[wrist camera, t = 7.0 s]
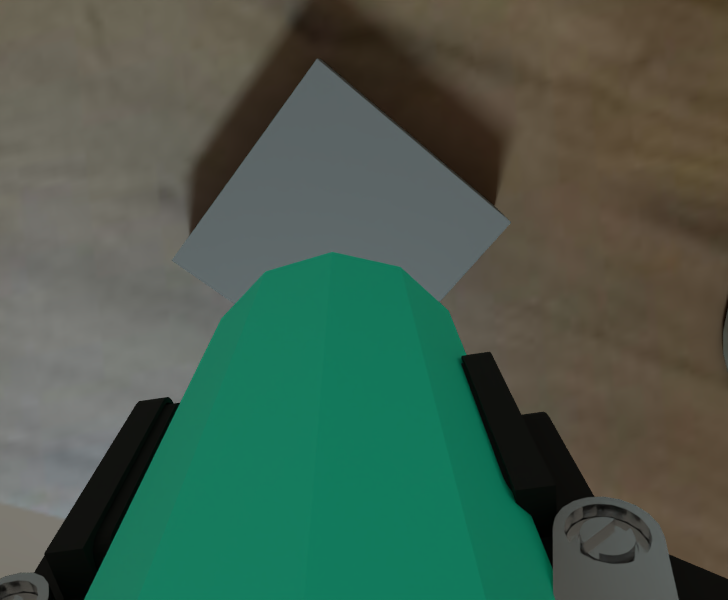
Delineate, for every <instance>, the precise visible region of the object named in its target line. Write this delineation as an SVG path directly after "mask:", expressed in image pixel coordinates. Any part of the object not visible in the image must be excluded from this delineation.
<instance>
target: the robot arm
mask: <svg viewBox="0 0 728 600" xmlns="http://www.w3.org/2000/svg"><path fill="white" fill-rule="evenodd" d="M723 354H724V358H725V362H726V366H727V370H728V310H727V315H726V320H725V325H724V330H723ZM461 359H462V362H463V363H461V365H462V368H463V371H464V374H465V376H466V379H467V382H468V384H469V387H470V390H471V392H472V395H473V398H474V400H475V403H476V406H477V409H478V411H479V414H480V417H481V419H482V422H483V425H484V427H485V430H486V433H487V436H488V438H489V441H490V444H491V446H492V449H493V452H494V454H495V457H496V460H497V462H498V465H499V468H500V471H501V473H502V476H503V478H504V480H505V482H506V484H507V486H508V487H509V488H510V490H511V491H512V494H513V496H514V499H515V502H516V504H517V505H519V506H520V507H521V508H522V509H524V510H525V511H526V512H527V513H528V514H530V515H531V516H532V519H533V521H534V524H535V526H536V529H537V531H538V534H539V536H540V539H541V541H542V544H543V546H544V549H545V551H546V554H547V556H548V559H549V561H550V564H551V566H552V569H553V595H554V597H555V600H728V579H726V578H724V577H722V576H719V575H717V574H714V573H712V572H710V571H707V570H705V569H702V568H700V567H698V566H695V565H693V564H691V563H688V562H686V561H683V560H681V559H679V558H676V557H674V556H671V555H669V554H668V550H667V545H666V541H665V537H664V534H663V532H662V530H661V528H660V526H659V524H658V523H657V522H656V521H655V520H654V519H653V518H652V517H651V516H650V515H649V514H648V513H647V512H645V511H644V510H642V509H640V508H639V507H637V506H636V505H633V504H630V503H628V502H625V501H622V500H620V499H614V498H608V497H594V495H593V494H592V492H591V490H590V488H589V486H588V485H587V483H586V481H585V479H584V478H583V476H582V474H581V472H580V471H579V469H578V467H577V465H576V463H575V462H574V460H573V458H572V456H571V455H570V453H569V451H568V449H567V448H566V446H565V444H564V442H563V440H562V439H561V437H560V435H559V433H558V432H557V430H556V428H555V426H554V425H553V423H552V421H551V419H550V417H549V416H548V415H547V413H545V412H538V413H531V414H524V415H521V413H520V411H519V409H518V407H517V405H516V403H515V401H514V399H513V397H512V395H511V393H510V391H509V389H508V387H507V385H506V383H505V381H504V378H503V376H502V374H501V372H500V370H499V368H498V366H497V364H496V362H495V360H494V358H493V356H492V354H491V352H485V353H478V354H471V355H464V356H462V357H461ZM179 404H180V403H175V404H173V402H172V400H171V399H170V398H169V397H166V398H158V399H151V400H144V401H139V402H138V403H137V404H136V406H135V407H134V409H133V410H132V412H131V414H130V415H129V417H128V419H127V420H126V422H125V423H124V425H123V427H122V428H121V430H120V432H119V433H118V435H117V436H116V438H115V440H114V441H113V443H112V445H111V446H110V448H109V449H108V451H107V453H106V454H105V456H104V457H103V459H102V461H101V462H100V464H99V466H98V467H97V469H96V470H95V472H94V474H93V475H92V477H91V479H90V480H89V482H88V483H87V485H86V487H85V488H84V490H83V492H82V493H81V495H80V496H79V498H78V500H77V501H76V503H75V505H74V506H73V508H72V509H71V511H70V513H69V514H68V516H67V517H66V519H65V521H64V522H63V524H62V526H61V527H60V529H59V530H58V532H57V534H56V535H55V537H54V539H53V540H52V542H51V543H50V545H49V547H48V548H47V550H46V552H45V556H44V557H43V559H42V561H41V562H40V564H39V565H38V567H37V569H36V570H35V572H34V573H17V574H13V575H9V576H5V577H3V578H1V579H0V600H84V599H85V597H86V595H87V593H88V590H89V588H90V586H91V584H92V582H93V580H94V578H95V576H96V574H97V572H98V570H99V568H100V566H101V564H102V562H103V560H104V558H105V556H106V554H107V552H108V550H109V547H110V545H111V543H112V541H113V539H114V537H115V535H116V533H117V531H118V529H119V527H120V525H121V523H122V521H123V519H124V517H125V515H126V513H127V511H128V509H129V507H130V505H131V502H132V500H133V498H134V496H135V494H136V492H137V490H138V488H139V486H140V484H141V482H142V480H143V478H144V476H145V474H146V472H147V470H148V468H149V466H150V464H151V462H152V460H153V457H154V455H155V453H156V451H157V449H158V447H159V445H160V443H161V441H162V439H163V437H164V435H165V433H166V431H167V429H168V427H169V425H170V423H171V421H172V419H173V417H174V415H175V412H176V410H177V408H178V406H179Z"/></svg>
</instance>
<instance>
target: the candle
mask: <svg viewBox="0 0 728 600" xmlns="http://www.w3.org/2000/svg"><path fill="white" fill-rule="evenodd" d="M464 355H466V353H465V350H464V348H463V345H462V343H461V340H460V338H459V335H458V333H457V330H456V328H455V325H454V323H453V321H452V318H451V316H450V313H449V311H448V310H447V309H446V308H445V307H444V306H443V305H442V304H441V303H440V302H438V301H437V300H436V299H435V298H434V297H433V296H432V295H431V294H430V293H429V292H427V291H426V290H425V289H424V288H423V287H422V286H421V285H420V284H419V283H418V282H417V281H415V280H414V279H413V278H412V277H411V276H410V275H409V274H408V273H407V272H406V271H404V270H403V269H402V268H401V267H399V266H394V265H390V264H385V263H381V262H376V261H372V260H367V259H362V258H358V257H353V256H349V255H344V254H340V253H335V252H330V253H326V254H323V255H320V256H316V257H313V258H309V259H306V260H303V261H299V262H296V263H292V264H289V265H286V266H282V267H279V268H275V269H272V270H269V271H265V272H264V273H263V275H262V276H261V277H260V278H259V279H258V280H257V281H256V282H255V283H254V284H253V285H252V286H251V287H250V288H249V290H248V291H247V292H246V293H245V294H244V295H243V296H242V297H241V298H240V299H239V300H238V301H237V302H236V303H235V305H234V306H233V307H232V308H231V309H230V310H229V311H228V312H227V313H226V314H225V315H224V316H223V317H222V318H221V320H220V322H219V324H218V327H217V329H216V331H215V333H214V335H213V337H212V339H211V341H210V343H209V345H208V347H207V349H206V351H205V353H204V355H203V357H202V359H201V361H200V363H199V365H198V367H197V370H196V372H195V374H194V376H193V378H192V380H191V382H190V384H189V386H188V388H187V390H186V392H185V394H184V396H183V398H182V400H181V402H180V404H179V406H178V408H177V410H176V412H175V415H174V417H173V419H172V421H171V423H170V425H169V427H168V429H167V431H166V433H165V435H164V437H163V439H162V441H161V443H160V445H159V447H158V449H157V451H156V453H155V455H154V457H153V460H152V462H151V464H150V466H149V468H148V470H147V472H146V474H145V476H144V478H143V480H142V482H141V484H140V486H139V488H138V490H137V492H136V494H135V496H134V498H133V500H132V502H131V505H130V507H129V509H128V511H127V513H126V515H125V517H124V519H123V521H122V523H121V525H120V527H119V529H118V531H117V533H116V535H115V537H114V539H113V541H112V543H111V545H110V547H109V550H108V552H107V554H106V556H105V558H104V560H103V562H102V564H101V566H100V568H99V570H98V572H97V574H96V576H95V578H94V580H93V582H92V584H91V586H90V588H89V590H88V593H87V595H86V597H85V599H84V600H555V597H554V595H553V569H552V566H551V564H550V561H549V559H548V556H547V554H546V551H545V549H544V546H543V544H542V541H541V539H540V536H539V534H538V531H537V529H536V526H535V524H534V521H533V519H532V516H531V515H530V514H528V513H527V512H526V511H525V510H524V509H522V508H521V507H520V506H519V505H517V504H516V502H515V499H514V496H513V494H512V491H511V490H510V488H509V487H508V486H507V484H506V482H505V480H504V478H503V476H502V473H501V471H500V468H499V465H498V462H497V460H496V457H495V454H494V452H493V449H492V446H491V444H490V441H489V438H488V436H487V433H486V430H485V427H484V425H483V422H482V419H481V417H480V414H479V411H478V409H477V406H476V403H475V400H474V398H473V395H472V392H471V390H470V387H469V384H468V382H467V379H466V376H465V374H464V371H463V368H462V365H461V363H463V362H462V359H461V357H462V356H464Z"/></svg>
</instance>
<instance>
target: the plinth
mask: <svg viewBox="0 0 728 600" xmlns="http://www.w3.org/2000/svg"><path fill="white" fill-rule="evenodd" d="M510 223H511V222H510V221H509V220H508V219H507V218H506V217H505V216H504V215H503V214H502V213H501V212H500V211H499V210H498V209H497V208H496V207H495V206H494V205H493V204H492V203H490V202H489V201H488V200H487V199H486V198H485V197H483V196H482V195H481V194H480V193H479V192H477V191H476V190H475V189H474V188H473V187H472V186H470V185H469V184H468V183H467V182H466V181H464V180H463V179H462V178H461V177H460V176H459V175H457V174H456V173H455V172H454V171H453V170H451V169H450V168H449V167H448V166H447V165H445V164H444V163H443V162H442V161H441V160H440V159H438V158H437V157H436V156H435V155H434V154H432V153H431V152H430V151H429V150H428V149H427V148H425V147H424V146H423V145H422V144H421V143H419V142H418V141H417V140H416V139H415V138H414V137H412V136H411V135H410V134H409V133H408V132H406V131H405V130H404V129H403V128H402V127H401V126H399V125H398V124H397V123H396V122H395V121H393V120H392V119H391V118H390V117H389V116H387V115H386V114H385V113H384V112H383V111H382V110H380V109H379V108H378V107H377V106H376V105H374V104H373V103H372V102H371V101H370V100H369V99H367V98H366V97H365V96H364V95H363V94H361V93H360V92H359V91H358V90H357V89H356V88H354V87H353V86H352V85H351V84H350V83H348V82H347V81H346V80H345V79H344V78H342V77H341V76H340V75H339V74H338V73H337V72H335V71H334V70H333V69H332V68H331V67H329V66H328V65H327V64H326V63H325V62H324V61H322V60H321V59H316V61H315V62H314V64H313V65H312V66H311V68H310V69H309V70H308V72H307V73H306V75H305V76H304V77H303V79H302V80H301V82H300V83H299V84H298V86H297V87H296V89H295V90H294V91H293V93H292V94H291V95H290V97H289V98H288V100H287V101H286V102H285V104H284V105H283V107H282V108H281V109H280V111H279V112H278V114H277V115H276V116H275V118H274V119H273V120H272V122H271V123H270V125H269V126H268V127H267V129H266V130H265V132H264V133H263V134H262V136H261V137H260V139H259V140H258V141H257V143H256V144H255V145H254V147H253V148H252V150H251V151H250V152H249V154H248V155H247V157H246V158H245V159H244V161H243V162H242V164H241V165H240V166H239V168H238V169H237V170H236V172H235V173H234V175H233V176H232V177H231V179H230V180H229V182H228V183H227V184H226V186H225V187H224V189H223V190H222V191H221V193H220V194H219V195H218V197H217V198H216V200H215V201H214V202H213V204H212V205H211V207H210V208H209V209H208V211H207V212H206V214H205V215H204V216H203V218H202V219H201V220H200V222H199V223H198V225H197V226H196V227H195V229H194V230H193V232H192V233H191V234H190V236H189V237H188V239H187V240H186V241H185V243H184V244H183V245H182V247H181V248H180V250H179V251H178V252H177V254H176V255H175V257H174V258H173V259H172V261H173V262H175V263H176V264H178V265H179V266H180V267H182V268H183V269H185V270H186V271H188V272H189V273H191V274H192V275H193V276H195V277H196V278H198V279H199V280H201V281H202V282H204V283H205V284H206V285H208V286H209V287H211V288H212V289H214V290H215V291H217V292H218V293H220V294H221V295H222V296H224V297H225V298H227V299H228V300H230V301H231V302H233V303H234V304H235V303H236V302H237V301H238V300H239V299H240V298H241V297H242V296H243V295H244V294H245V293H246V292H247V291H248V290H249V288H250V287H251V286H252V285H253V284H254V283H255V282H256V281H257V280H258V279H259V278H260V277H261V276H262V275H263V273H264V272H265V271H269V270H272V269H275V268H279V267H282V266H286V265H289V264H292V263H296V262H299V261H303V260H306V259H309V258H313V257H316V256H320V255H323V254H326V253H330V252H335V253H340V254H344V255H349V256H353V257H358V258H362V259H367V260H372V261H376V262H381V263H385V264H390V265H394V266H399V267H401V268H402V269H403V270H404V271H406V272H407V273H408V274H409V275H410V276H411V277H412V278H413V279H414V280H415V281H417V282H418V283H419V284H420V285H421V286H422V287H423V288H424V289H425V290H426V291H427V292H429V293H430V294H431V295H432V296H433V297H434V298H435V299H436V300H437V301H438V302H440V301H441V300H442V298H443V297H444V296H445V295H446V294H447V293H448V292H449V291H450V290H451V288H452V287H453V286H454V285H455V284H456V283H457V282H458V281H459V280H460V278H461V277H462V276H463V275H464V274H465V273H466V272H467V271H468V270H469V269H470V267H471V266H472V265H473V264H474V263H475V262H476V261H477V260H478V259H479V257H480V256H481V255H482V254H483V253H484V252H485V251H486V250H487V249H488V247H489V246H490V245H491V244H492V243H493V242H494V241H495V240H496V239H497V238H498V236H499V235H500V234H501V233H502V232H503V231H504V230H505V229H506V228H507V226H508V225H509V224H510Z"/></svg>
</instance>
